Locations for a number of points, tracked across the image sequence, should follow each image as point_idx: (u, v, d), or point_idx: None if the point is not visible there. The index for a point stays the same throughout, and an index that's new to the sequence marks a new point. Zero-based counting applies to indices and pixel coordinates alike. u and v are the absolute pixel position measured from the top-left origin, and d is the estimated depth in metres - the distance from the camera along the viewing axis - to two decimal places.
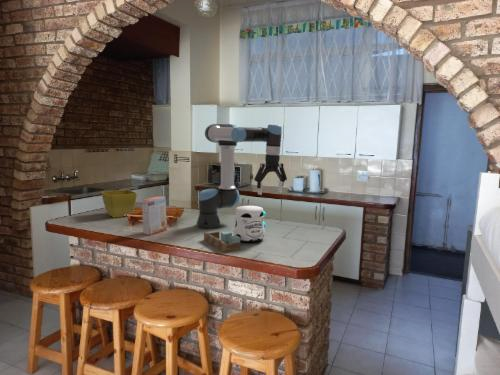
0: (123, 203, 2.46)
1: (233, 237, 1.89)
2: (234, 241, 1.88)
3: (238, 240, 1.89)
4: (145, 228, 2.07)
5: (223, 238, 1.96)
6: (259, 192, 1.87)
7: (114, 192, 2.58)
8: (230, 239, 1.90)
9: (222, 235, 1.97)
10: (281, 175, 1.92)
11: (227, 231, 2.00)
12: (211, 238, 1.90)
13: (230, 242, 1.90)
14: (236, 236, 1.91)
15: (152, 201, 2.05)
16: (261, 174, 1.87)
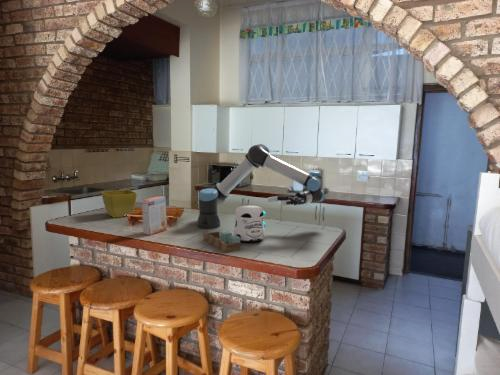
0: (123, 203, 2.46)
1: (233, 237, 1.89)
2: (234, 241, 1.88)
3: (238, 240, 1.89)
4: (145, 228, 2.07)
5: (223, 238, 1.96)
6: (283, 203, 2.02)
7: (114, 192, 2.58)
8: (230, 239, 1.90)
9: (222, 235, 1.97)
10: None
11: (227, 231, 2.00)
12: (211, 238, 1.90)
13: (230, 242, 1.90)
14: (236, 236, 1.91)
15: (152, 201, 2.05)
16: (294, 199, 2.07)
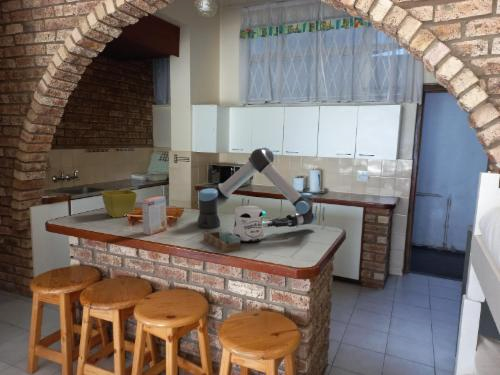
0: (123, 203, 2.46)
1: (233, 237, 1.89)
2: (234, 241, 1.88)
3: (238, 240, 1.89)
4: (145, 228, 2.07)
5: (223, 238, 1.96)
6: (264, 225, 2.03)
7: (114, 192, 2.58)
8: (230, 239, 1.90)
9: (222, 235, 1.97)
10: None
11: (227, 231, 2.00)
12: (211, 238, 1.90)
13: (230, 242, 1.90)
14: (236, 236, 1.91)
15: (152, 201, 2.05)
16: (279, 221, 2.08)
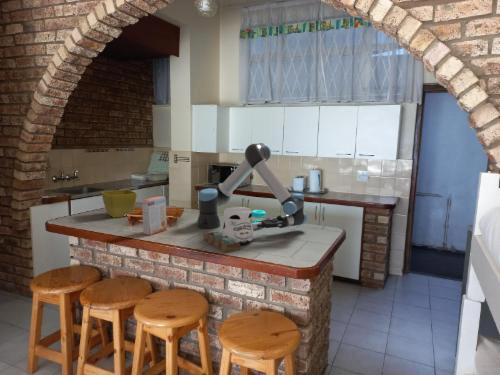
0: (123, 203, 2.46)
1: (227, 239, 1.85)
2: (229, 243, 1.85)
3: (232, 241, 1.87)
4: (145, 228, 2.07)
5: None
6: (253, 226, 2.00)
7: (114, 192, 2.58)
8: (224, 241, 1.85)
9: None
10: None
11: (221, 232, 1.98)
12: (211, 238, 1.90)
13: None
14: (228, 238, 1.88)
15: (152, 201, 2.05)
16: (269, 222, 2.04)
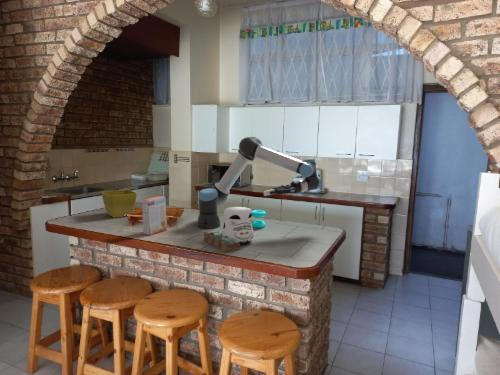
0: (123, 203, 2.46)
1: (227, 239, 1.85)
2: (229, 243, 1.85)
3: (232, 241, 1.87)
4: (145, 228, 2.07)
5: None
6: (266, 193, 2.06)
7: (114, 192, 2.58)
8: (224, 241, 1.85)
9: None
10: None
11: (221, 232, 1.98)
12: (211, 238, 1.90)
13: None
14: (228, 238, 1.88)
15: (152, 201, 2.05)
16: (282, 189, 2.08)
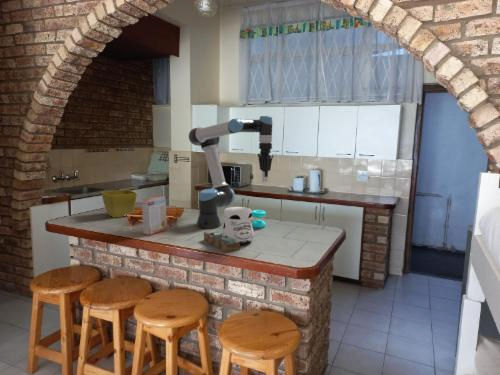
0: (123, 203, 2.46)
1: (228, 239, 1.85)
2: (229, 243, 1.85)
3: (232, 241, 1.87)
4: (145, 228, 2.07)
5: None
6: (265, 180, 2.13)
7: (114, 192, 2.58)
8: (224, 241, 1.85)
9: None
10: None
11: (221, 232, 1.98)
12: (211, 238, 1.90)
13: None
14: (228, 238, 1.88)
15: (152, 201, 2.05)
16: (265, 164, 2.10)
